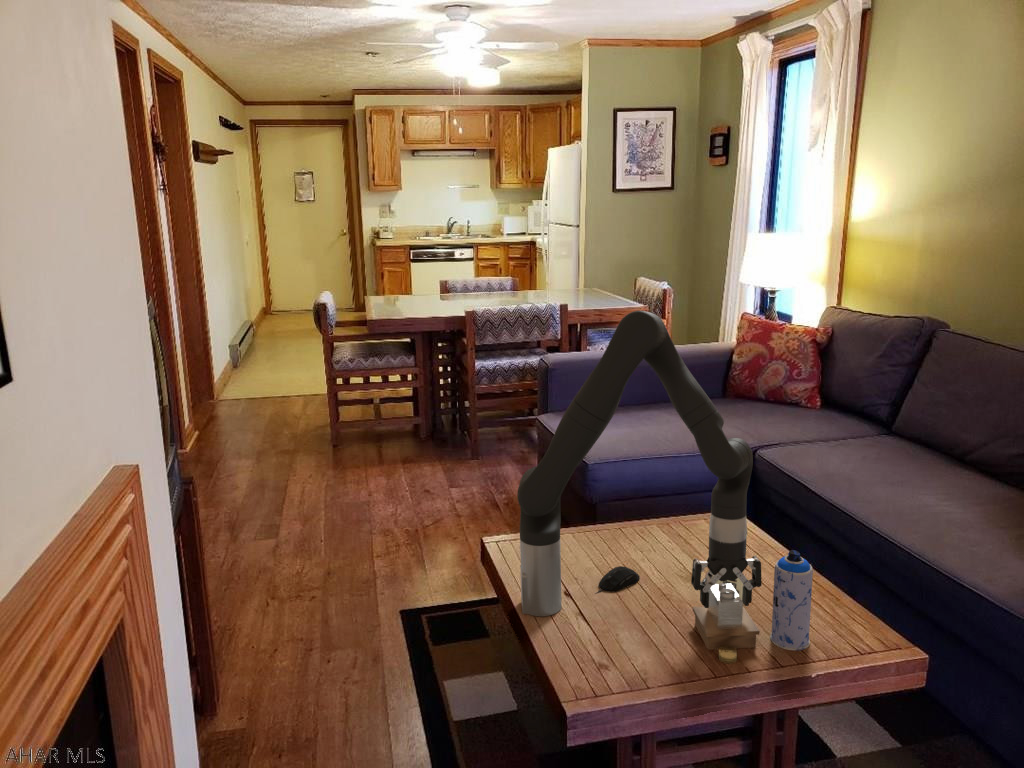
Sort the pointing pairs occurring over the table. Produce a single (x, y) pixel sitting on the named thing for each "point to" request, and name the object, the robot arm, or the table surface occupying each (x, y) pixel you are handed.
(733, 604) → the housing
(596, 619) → the table surface
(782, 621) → the aerosol can
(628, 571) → the gaming mouse
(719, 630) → the stand
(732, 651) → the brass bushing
